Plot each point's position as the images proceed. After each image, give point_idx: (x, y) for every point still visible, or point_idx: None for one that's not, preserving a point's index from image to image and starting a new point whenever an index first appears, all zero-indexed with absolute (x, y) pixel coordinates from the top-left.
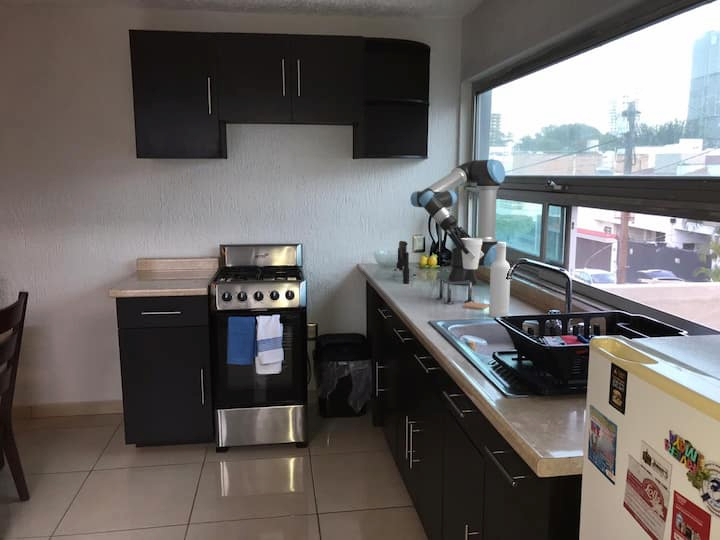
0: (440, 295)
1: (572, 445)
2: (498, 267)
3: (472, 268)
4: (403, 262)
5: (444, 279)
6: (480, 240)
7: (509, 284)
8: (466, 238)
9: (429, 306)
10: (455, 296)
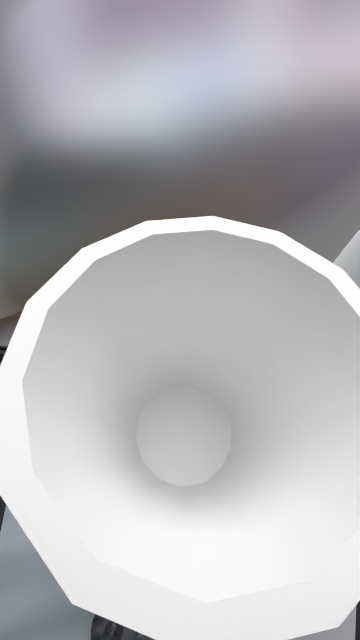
0: (121, 637)
1: None
2: None
3: (225, 409)
4: None
5: None
6: (263, 236)
7: None
8: (58, 501)
9: (312, 634)
10: (31, 555)
